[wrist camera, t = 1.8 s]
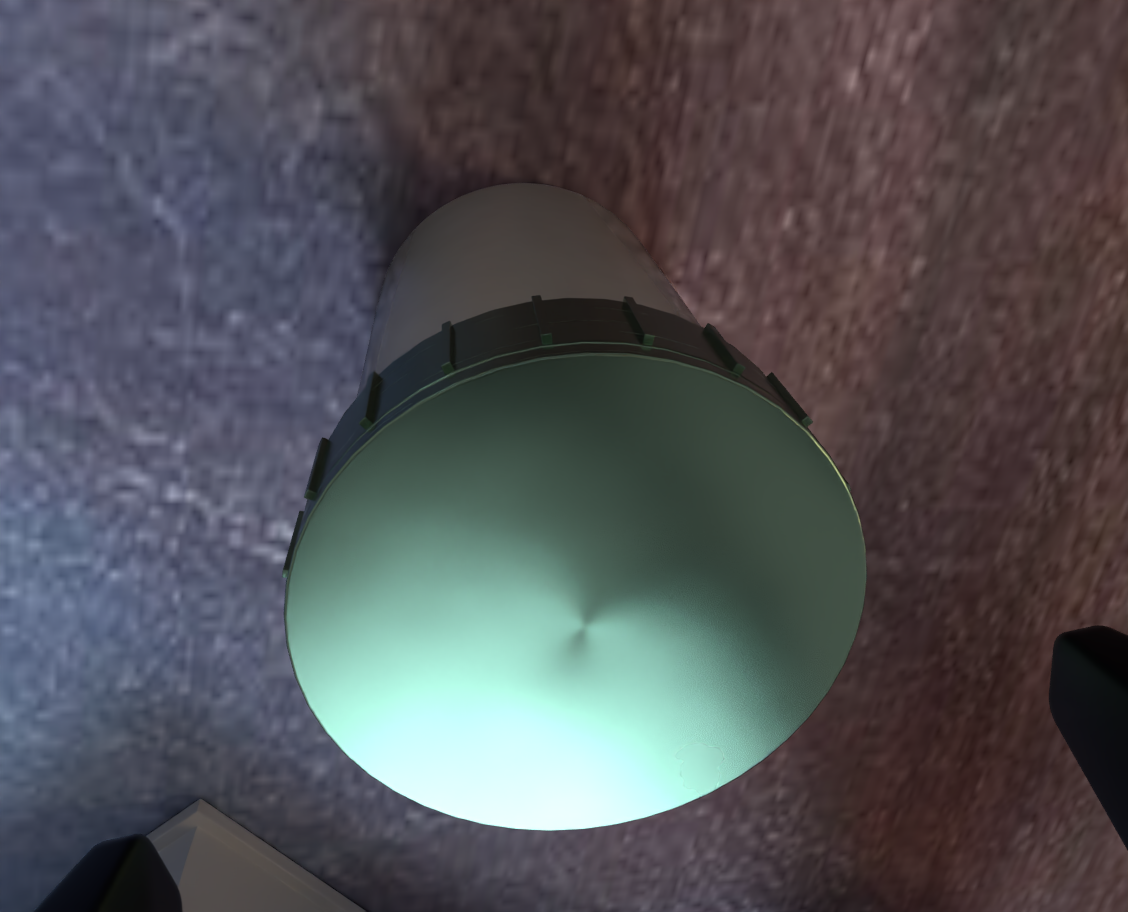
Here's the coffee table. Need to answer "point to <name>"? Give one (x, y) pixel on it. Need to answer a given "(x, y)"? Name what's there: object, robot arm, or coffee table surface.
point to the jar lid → (570, 568)
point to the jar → (509, 264)
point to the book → (236, 868)
